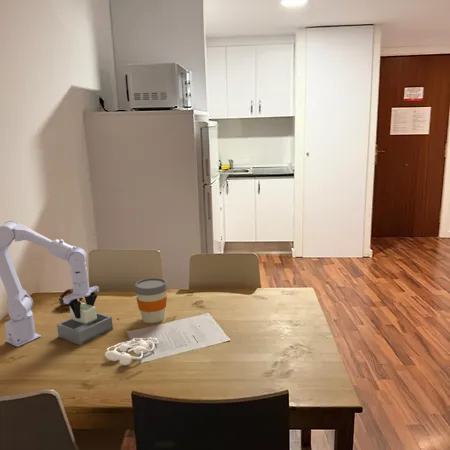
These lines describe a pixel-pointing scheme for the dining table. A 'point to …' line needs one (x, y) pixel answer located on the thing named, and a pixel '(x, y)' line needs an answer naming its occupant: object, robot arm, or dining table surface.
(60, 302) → the pottery mug
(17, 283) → the robot arm
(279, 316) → the dining table surface
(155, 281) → the reusable coffee cup
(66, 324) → the charcoal crate
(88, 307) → the sage crate
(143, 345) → the white tangled earphones
